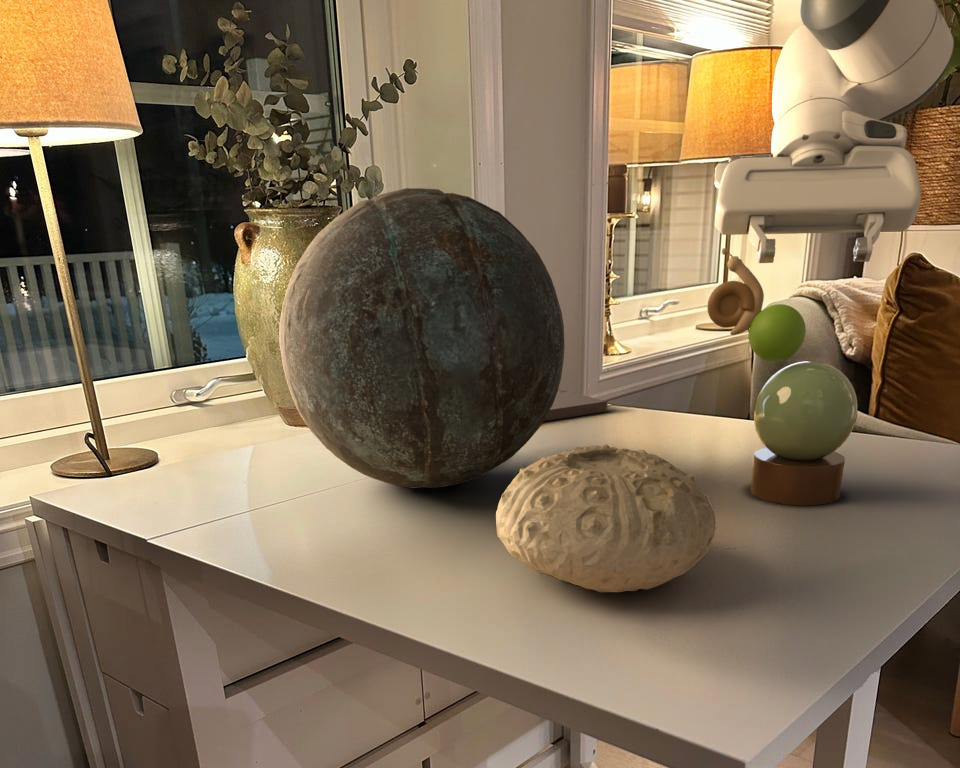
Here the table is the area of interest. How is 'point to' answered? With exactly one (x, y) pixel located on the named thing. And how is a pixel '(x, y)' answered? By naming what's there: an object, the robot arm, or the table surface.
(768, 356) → the snail figurine
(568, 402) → the notebook
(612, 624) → the table surface
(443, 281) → the metal sphere
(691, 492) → the decorative shell
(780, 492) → the ball stand
